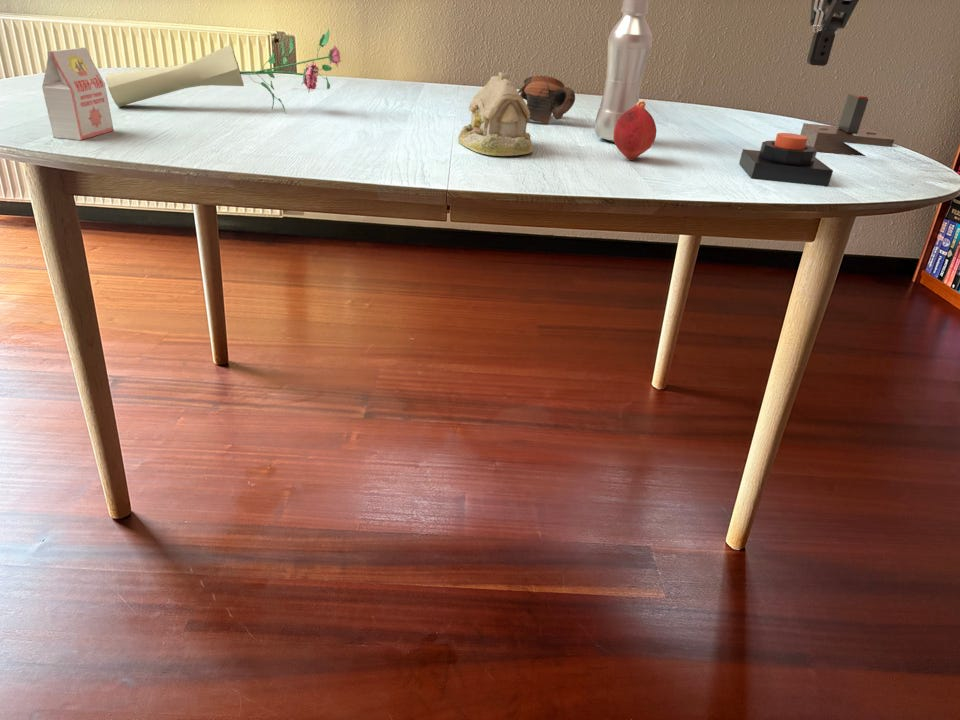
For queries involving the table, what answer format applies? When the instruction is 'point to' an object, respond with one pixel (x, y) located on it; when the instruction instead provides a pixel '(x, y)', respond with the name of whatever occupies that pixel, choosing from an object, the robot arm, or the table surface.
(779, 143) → the button
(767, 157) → the button housing
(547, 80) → the pottery mug
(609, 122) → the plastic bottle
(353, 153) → the table surface
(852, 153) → the brown switch base
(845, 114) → the dark grey rectangular block
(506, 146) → the ceramic model
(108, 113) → the white gable-top carton
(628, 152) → the onion
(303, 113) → the table surface
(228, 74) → the flower vase
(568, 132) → the table surface
